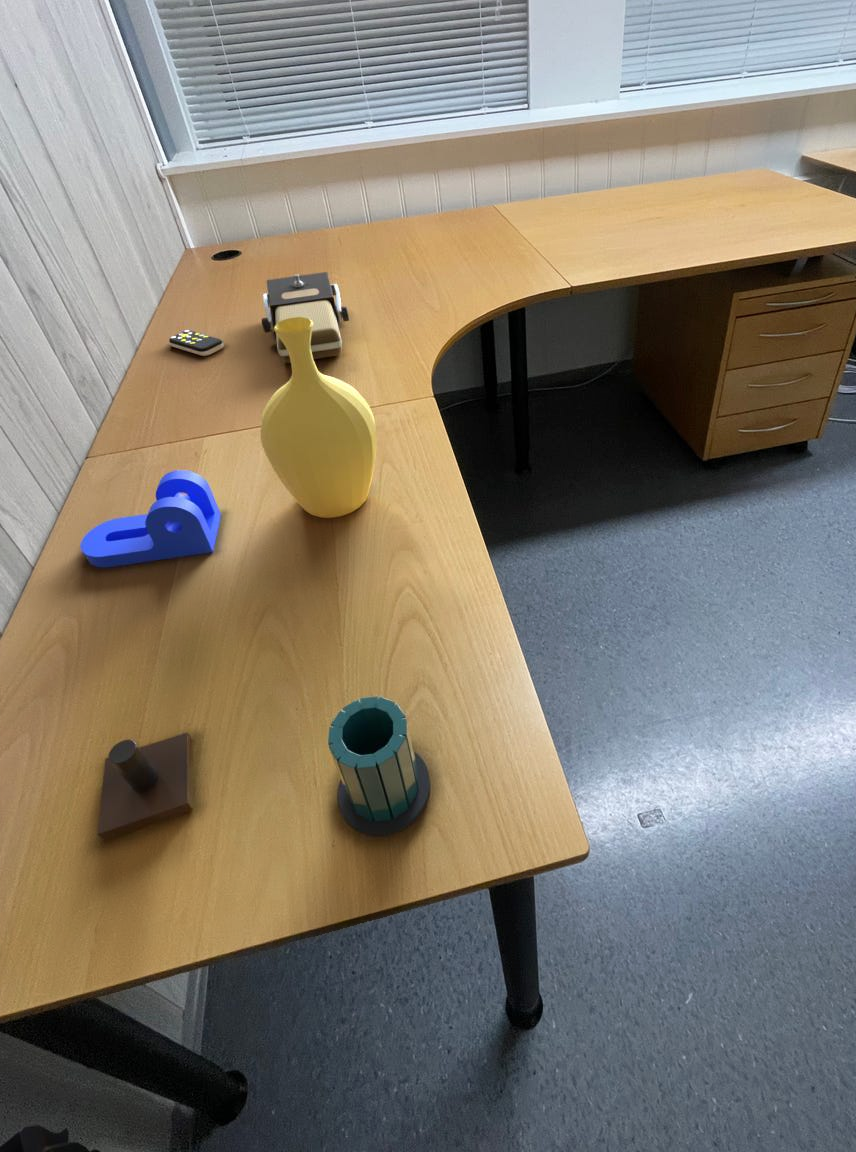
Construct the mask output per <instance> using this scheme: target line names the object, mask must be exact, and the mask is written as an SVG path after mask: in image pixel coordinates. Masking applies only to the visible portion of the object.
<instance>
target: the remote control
mask: <svg viewBox="0 0 856 1152" xmlns="http://www.w3.org/2000/svg"><path fill="white" fill-rule="evenodd" d="M168 342H169V344H170V347H173V348H176V349H179V350H182V351H185V352H189V353H192V354H194V355H198V356H202V357H206V356H210V355H212V354H214V353H216V352H218V351H220V350H222V349H223V348H224V345H225V344H224V342H223V340H222V339H221V338H218V337H214V336H211V335H208V334H205V333H201V332H198V331H193V330H189V329H186V330H184V331H181V332H180V333H177V334H175V335H172V336H170V338H169V340H168Z"/></svg>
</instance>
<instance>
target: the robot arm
mask: <svg viewBox="0 0 856 1152" xmlns="http://www.w3.org/2000/svg"><path fill="white" fill-rule="evenodd" d="M69 1138H70V1134H69V1129H68V1128H67V1127H65V1128H63V1130H62V1131H60V1132H53V1131H51V1130H49V1129H47V1128H45V1127H44V1126H43V1125H40V1124H36V1125H30V1126H24V1127H22V1128H20V1129H19V1130H18V1131H17V1132H15V1133H14V1134H13V1135H11V1136H10V1137H9V1138H8V1139H6V1141H4V1142H3V1143H2V1144H0V1152H101V1151H100V1150H99V1149H95V1148H94V1149H92V1150H89V1149H88V1148H87V1147H86V1146H84V1145H83V1144H81V1143H79V1142H76V1141H70V1140H69Z"/></svg>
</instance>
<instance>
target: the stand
mask: <svg viewBox="0 0 856 1152" xmlns="http://www.w3.org/2000/svg"><path fill="white" fill-rule="evenodd" d="M193 743H194V742H193V738H192V736H191V735H190V733H189V732H187V731H186V732H184V733H181V734H178V735H174V736H171V737H168V738H164V739H161V740H159V741H155V742H152V743H149V744H146V745H143V746H138V744H137V743H136V741H134V740H133V739H123V740H121V741H119V742H117V743H116V744H115V745H113V746H112V748H110V750H109V752H108V757H106V758H105V760H104V769H103V776H102V786H101V796H100V806H99V816H98V825H97V832H96V833H97V834H96V835H97V836H98V837H99V838H100V839H101V840H102V841H103V842H106V841H110V840H112V839H115V838H118V837H122V836H123V835H126V834H130V833H133V832H135V831H137V830H140V829H141V830H142V829H144V828H146V827H149V826H153V825H155V824H158V823H160V822H164V821H166V820H169V819H172V818H175V817H178V816H180V815H184V814H187V813H190V812H192V811H194V766H193V765H194V758H193V757H194V756H193V753H194V752H193V751H194V750H193V748H194V747H193Z"/></svg>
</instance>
